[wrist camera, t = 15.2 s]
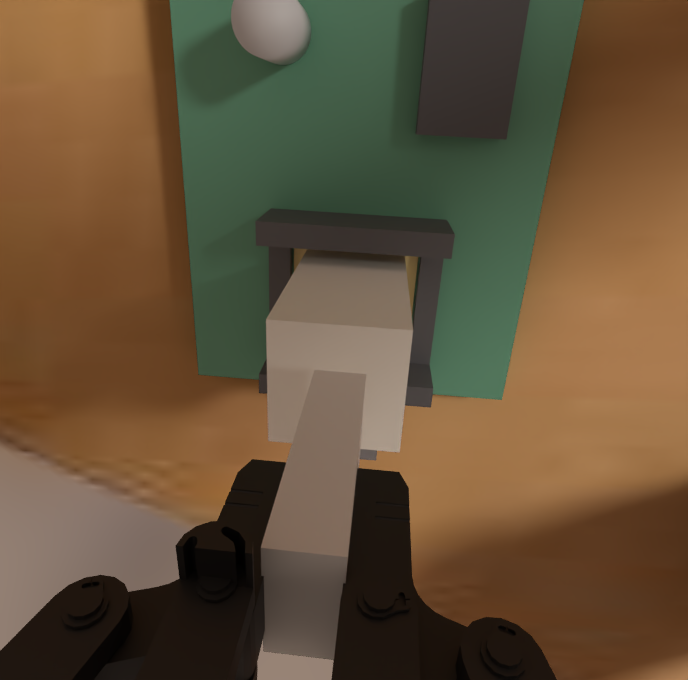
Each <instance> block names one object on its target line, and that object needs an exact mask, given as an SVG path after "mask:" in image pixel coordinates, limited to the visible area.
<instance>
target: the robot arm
mask: <svg viewBox="0 0 688 680" xmlns="http://www.w3.org/2000/svg"><path fill="white" fill-rule="evenodd" d="M365 384H366V374H359V373H347V372H336V371H324V370H314V373H313V376H312V379H311V383H310V386H309V389H308V393H307V396H306V399H305V403H304V406H303V409H302V412H301V416H300V419H299V422H298V426H297V429H296V432H295V436H294V439H293V442H292V446H291V449H290V452H289V455H288V459H287V462H286V463H285V462H275V461H264V460H254V459H252V460H251V461H250V462H249V463H248V464H247V465H246V466H245V467H243V468H242V469H241V470H240V471H239V472H238V474H237V476H236V478H235V481H234V483H233V485H232V488H231V492H229V495H228V497H227V499H226V502H225V505H224V506H223V509H222V511H221V513H220V516H219V518H218V520H217V521H213V522H208V523H205V524H202V525H199V526H196V527H195V528H193V529H192V530H190V531H189V532H187V533H186V534H184V535H183V537H182V538H181V539H180V541H179V542H178V543H177V545H176V552H177V561H178V569H179V577H180V579H178V580H176V581H174V582H172V583H170V584H166V585H163V586H159V587H154V588H149V589H144V590H137V591H132V592H128V591H127V588H126V586H125V584H124V583H122V582H121V581H119V580H118V579H117V578H115V577H110V576H104V575H98V576H93V577H87V578H83V579H81V580H79V581H77V582H74V583H72V584H70V585H68V586H67V587H66V588H65V589H63V590H62V591H61V592H59V593H58V594H57V595H55V596H54V597H53V598H52V599H51V600H50V601H49V602H48V603H47V604H46V605H45V606H44V607H43V608H42V609H41V610H40V612H38V613H37V614H36V616H34V618H32V619H31V621H29V622H28V623H27V624H26V625H25V626H24V627H23V628H22V630H20V631H19V633H18V634H17V635H16V636H15V637H14V638H13V639H12V640H11V641H10V642H9V643H8V644H7V645H6V646H5V647H4V648H3V649H2V650H1V651H0V680H257V660H258V656H259V652H260V648H261V644H262V640H263V651H264V652H272V653H281V654H289V655H298V656H306V657H315V658H323V659H331V660H334V663H333V672H332V680H557V679H556V677H555V675H554V673H553V671H552V669H551V668H550V666H549V664H548V662H547V660H546V658H545V656H544V654H543V652H542V650H541V649H540V647H539V646H538V645H537V643H536V642H535V640H534V639H533V638H532V636H531V635H529V634H528V633H527V632H526V631H524V630H523V629H522V628H521V627H519V626H518V625H516V624H514V623H512V622H509V621H507V620H504V619H502V618H490V617H485V618H482V619H479V620H476V621H473V622H472V623H471V624H470V625H469V626H468V627H466V626H464V625H461V624H459V623H456V622H454V621H452V620H449V619H447V618H445V617H443V616H441V615H439V614H438V613H436V612H434V611H433V610H432V609H431V608H429V607H428V606H427V605H426V604H425V603H424V602H423V601H422V599H421V598H420V597H419V595H418V594H417V592H416V589H415V587H414V585H413V579H412V565H411V539H410V514H409V488H408V486H407V485H406V483H405V481H404V479H403V478H402V476H401V474H400V473H399V472H393V471H382V470H372V469H362V468H359V460H360V449H361V436H362V423H363V410H364V397H365Z"/></svg>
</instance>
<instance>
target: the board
mask: <svg viewBox="0 0 688 680" xmlns="http://www.w3.org/2000/svg"><path fill="white" fill-rule="evenodd" d="M583 2H584V0H170V12H171V25H172V38H173V51H174V64H175V76H176V89H177V102H178V115H179V128H180V141H181V154H182V167H183V180H184V193H185V206H186V219H187V231H188V244H189V257H190V270H191V283H192V296H193V309H194V322H195V335H196V348H197V361H198V373H199V375H208V376H220V377H232V378H244V379H256V380H259V393H266V394H267V347H266V319H267V317H268V315H269V314H270V312H271V310H272V308H273V307H274V305H275V303H276V302H277V300H278V298H279V297H280V295H281V293H282V291H283V290H284V288H285V286H286V285H287V283H288V281H289V280H290V278H291V276H292V274H293V273H294V271H295V269H296V268H297V266H298V264H299V263H300V261H301V259H302V257H303V256H304V254H305V252H306V251H307V249H312V250H327V251H341V252H356V253H370V254H385V255H399V256H405V262H406V271H407V280H408V289H409V298H410V307H411V316H412V325H413V336H412V345H411V354H410V363H409V372H408V381H407V390H406V399H405V405H408V406H420V407H431V402H432V395H433V394H437V395H449V396H461V397H473V398H485V399H497V400H502V396H503V391H504V386H505V382H506V377H507V372H508V367H509V362H510V357H511V352H512V348H513V343H514V338H515V333H516V328H517V323H518V318H519V313H520V309H521V304H522V299H523V294H524V289H525V284H526V279H527V275H528V270H529V265H530V260H531V255H532V250H533V245H534V241H535V236H536V231H537V226H538V221H539V216H540V211H541V206H542V202H543V197H544V192H545V187H546V182H547V177H548V172H549V168H550V163H551V158H552V153H553V148H554V143H555V138H556V134H557V129H558V124H559V119H560V114H561V109H562V104H563V99H564V95H565V90H566V85H567V80H568V75H569V70H570V65H571V61H572V56H573V51H574V46H575V41H576V36H577V31H578V27H579V22H580V17H581V12H582V7H583Z"/></svg>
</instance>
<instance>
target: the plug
mask: <svg viewBox="0 0 688 680" xmlns="http://www.w3.org/2000/svg"><path fill="white" fill-rule="evenodd" d="M412 336H413V325H412V316H411V307H410V298H409V289H408V280H407V271H406V262H405V256H399V255H385V254H370V253H356V252H341V251H327V250H312V249H307V251H306V252H305V254H304V256H303V257H302V259H301V261H300V263H299V264H298V266H297V268H296V269H295V271H294V273H293V274H292V276H291V278H290V280H289V281H288V283H287V285H286V286H285V288H284V290H283V291H282V293H281V295H280V297H279V298H278V300H277V302H276V303H275V305H274V307H273V308H272V310H271V312H270V314H269V315H268V317H267V319H266V347H267V402H268V441H274V442H286V443H292V442H293V439H294V436H295V432H296V429H297V426H298V422H299V419H300V416H301V412H302V409H303V406H304V403H305V399H306V396H307V393H308V389H309V386H310V383H311V379H312V376H313V373H314V370H324V371H336V372H347V373H359V374H366V384H365V397H364V410H363V423H362V436H361V449H360V459H366V460H376V455H377V450H378V451H390V452H400V444H401V435H402V426H403V417H404V408H405V399H406V390H407V381H408V372H409V363H410V354H411V345H412Z"/></svg>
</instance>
